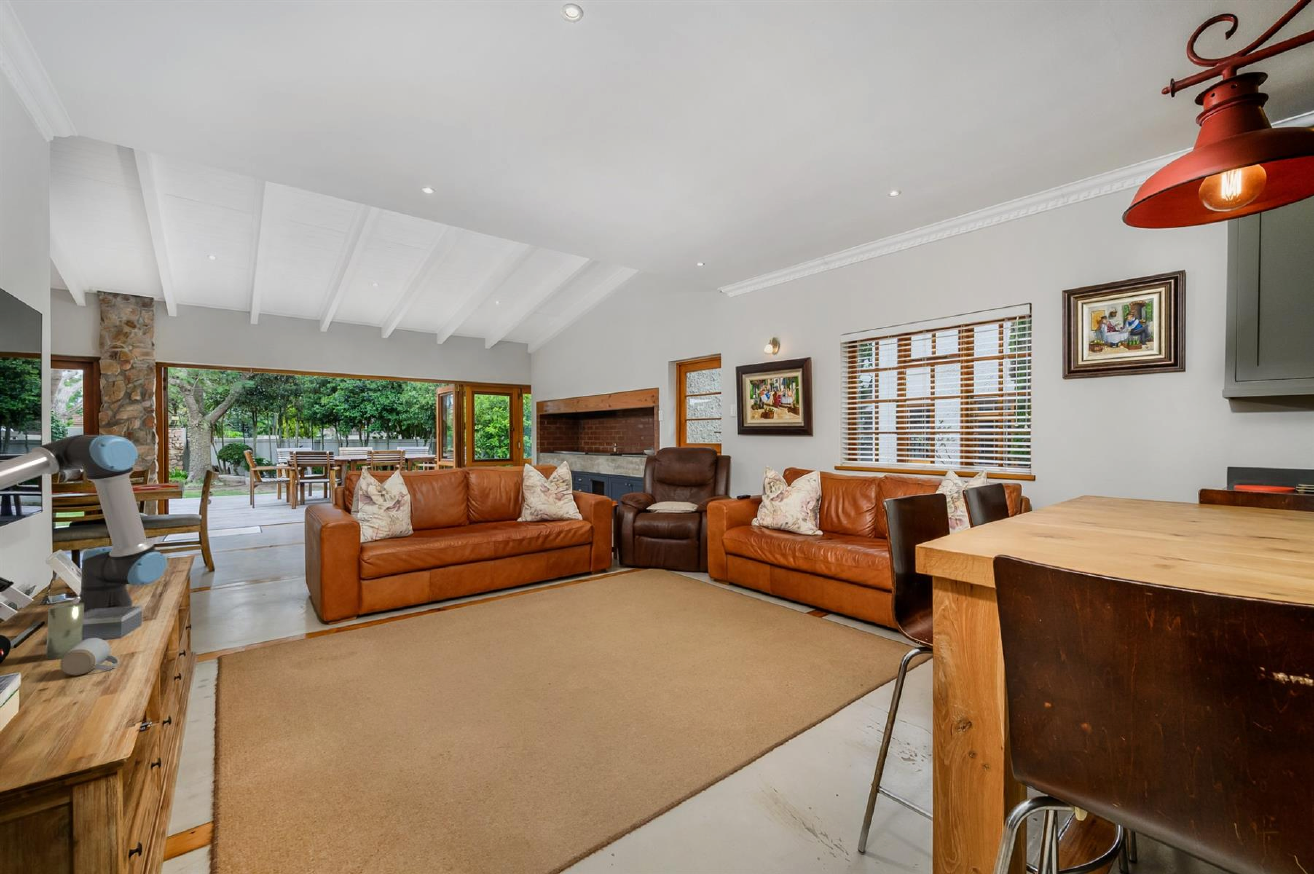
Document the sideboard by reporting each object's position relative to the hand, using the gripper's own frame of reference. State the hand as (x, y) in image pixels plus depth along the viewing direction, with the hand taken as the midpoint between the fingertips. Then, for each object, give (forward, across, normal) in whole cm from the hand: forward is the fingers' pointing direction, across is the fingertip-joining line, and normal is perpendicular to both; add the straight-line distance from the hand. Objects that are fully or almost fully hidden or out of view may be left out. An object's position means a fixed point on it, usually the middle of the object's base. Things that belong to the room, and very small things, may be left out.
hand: (20, 610), depth 153 cm
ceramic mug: (+22, +17, +2) cm, 28 cm away
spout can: (+16, -1, -4) cm, 17 cm away
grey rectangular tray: (+21, -20, +1) cm, 29 cm away
